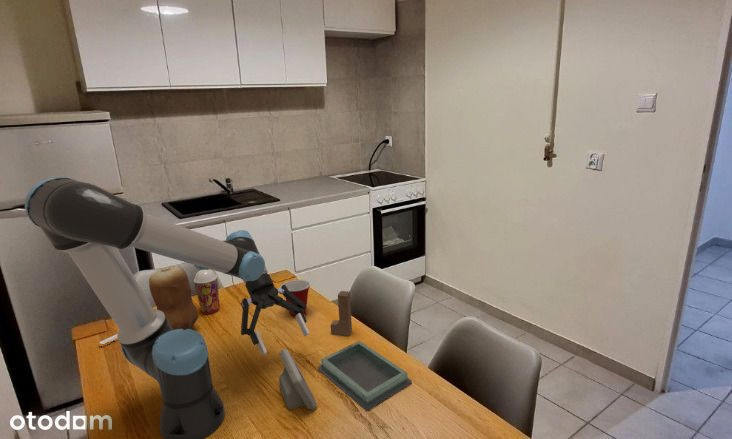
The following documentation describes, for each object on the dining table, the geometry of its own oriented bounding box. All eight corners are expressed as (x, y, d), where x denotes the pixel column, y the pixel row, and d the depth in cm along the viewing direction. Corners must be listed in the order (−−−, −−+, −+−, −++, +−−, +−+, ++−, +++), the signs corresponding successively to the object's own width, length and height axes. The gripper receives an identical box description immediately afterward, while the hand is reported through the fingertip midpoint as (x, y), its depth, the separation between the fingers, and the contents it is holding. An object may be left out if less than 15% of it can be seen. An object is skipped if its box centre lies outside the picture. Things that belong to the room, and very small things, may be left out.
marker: (151, 322, 156) (150, 317, 156) (154, 324, 155) (153, 318, 154) (99, 346, 142) (97, 340, 142) (102, 348, 141) (100, 342, 140)
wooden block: (352, 331, 145) (350, 291, 141) (349, 336, 142) (346, 295, 138) (334, 329, 147) (331, 289, 142) (330, 334, 144) (328, 294, 139)
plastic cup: (315, 306, 163) (313, 277, 160) (309, 320, 153) (306, 290, 149) (288, 306, 164) (285, 277, 161) (280, 320, 154) (276, 290, 150)
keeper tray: (367, 411, 108) (366, 399, 107) (317, 369, 125) (317, 359, 124) (411, 383, 118) (411, 372, 117) (360, 348, 135) (359, 338, 134)
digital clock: (317, 412, 109) (314, 377, 106) (282, 419, 107) (278, 383, 104) (311, 373, 124) (308, 341, 121) (279, 379, 122) (275, 347, 119)
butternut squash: (158, 331, 150) (145, 265, 143) (198, 320, 156) (188, 257, 149) (160, 350, 138) (146, 280, 131) (203, 338, 144) (192, 270, 137)
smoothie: (199, 307, 166) (191, 260, 160) (222, 304, 168) (215, 256, 162) (198, 318, 158) (190, 268, 152) (222, 313, 160) (214, 264, 154)
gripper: (289, 271, 136) (318, 331, 130) (213, 297, 121) (241, 366, 114) (297, 261, 130) (327, 323, 124) (217, 286, 115) (248, 358, 109)
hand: (286, 344), depth 119 cm, fingers open, 13 cm apart
